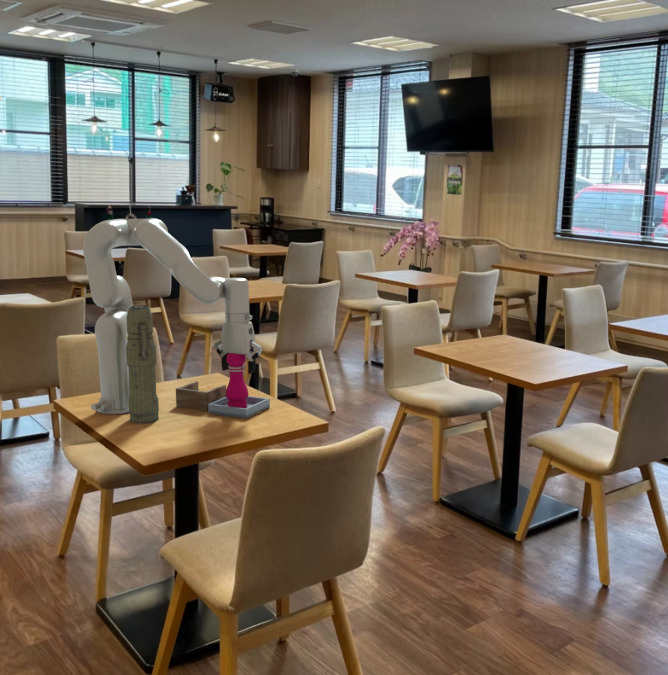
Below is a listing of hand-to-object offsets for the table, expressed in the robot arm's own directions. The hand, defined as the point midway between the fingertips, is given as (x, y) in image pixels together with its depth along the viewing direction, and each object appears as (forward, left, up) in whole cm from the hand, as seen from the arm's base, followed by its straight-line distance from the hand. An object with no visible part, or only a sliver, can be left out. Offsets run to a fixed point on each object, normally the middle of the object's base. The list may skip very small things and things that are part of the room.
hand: (238, 371), depth 254 cm
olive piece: (-21, +21, -13) cm, 32 cm away
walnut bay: (+1, +15, -13) cm, 20 cm away
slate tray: (0, 0, -13) cm, 13 cm away
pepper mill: (0, +1, -12) cm, 12 cm away
